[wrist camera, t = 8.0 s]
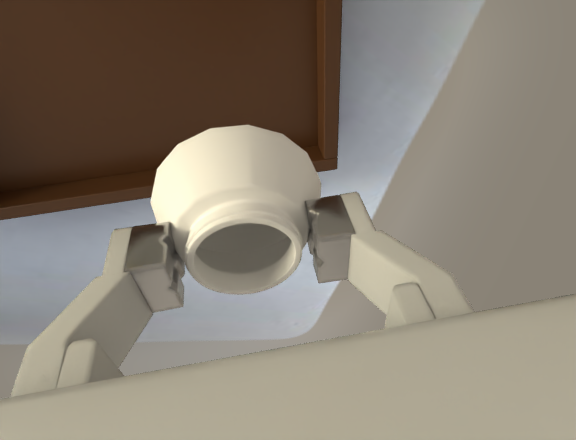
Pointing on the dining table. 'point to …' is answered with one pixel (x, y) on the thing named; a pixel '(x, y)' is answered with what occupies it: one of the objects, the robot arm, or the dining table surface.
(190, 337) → the dining table surface
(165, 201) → the lidless jar
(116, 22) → the serving tray
